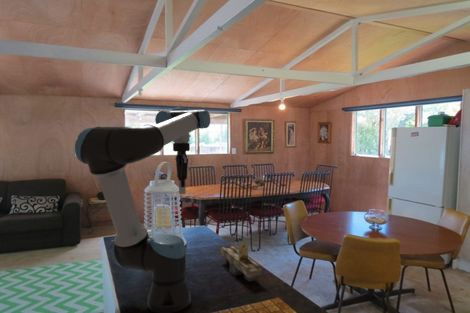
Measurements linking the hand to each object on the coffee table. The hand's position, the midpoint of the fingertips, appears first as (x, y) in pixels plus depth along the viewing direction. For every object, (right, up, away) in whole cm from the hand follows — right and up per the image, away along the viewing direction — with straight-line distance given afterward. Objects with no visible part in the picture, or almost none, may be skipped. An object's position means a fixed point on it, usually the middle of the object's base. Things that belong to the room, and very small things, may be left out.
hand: (182, 193), depth 149 cm
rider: (+28, -27, -13) cm, 41 cm away
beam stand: (+26, -33, -9) cm, 43 cm away
